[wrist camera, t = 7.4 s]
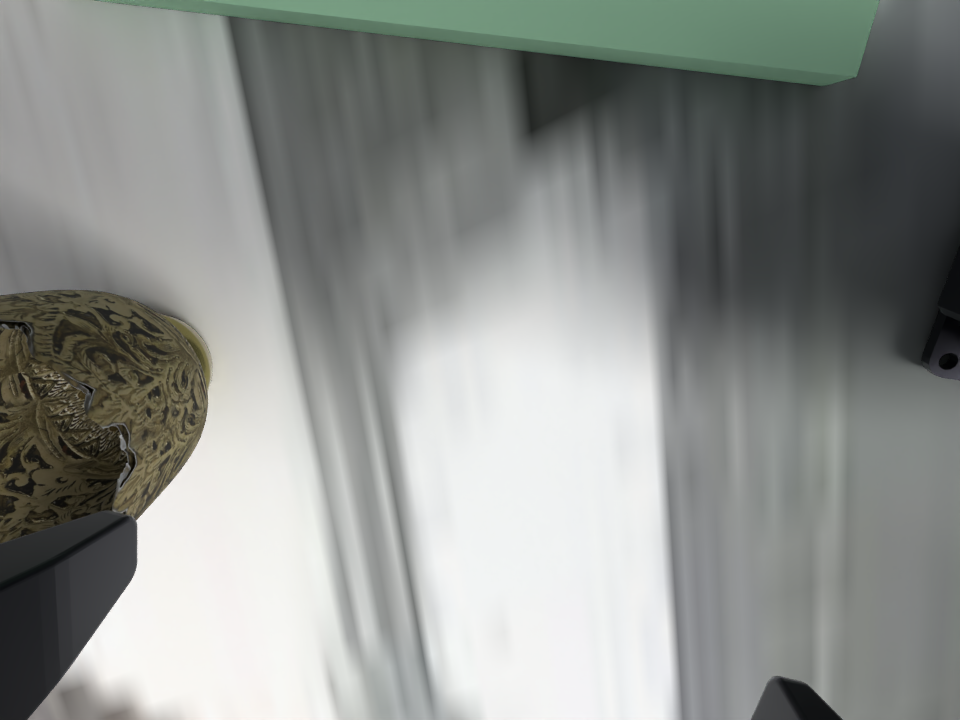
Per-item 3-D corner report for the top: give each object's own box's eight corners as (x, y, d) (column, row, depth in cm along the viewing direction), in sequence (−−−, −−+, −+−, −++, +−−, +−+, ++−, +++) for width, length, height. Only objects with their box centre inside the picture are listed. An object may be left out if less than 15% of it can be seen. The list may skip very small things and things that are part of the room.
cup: (50, 257, 21) (-237, 312, 14) (250, 246, 20) (58, 299, 12) (105, 453, 23) (-115, 594, 16) (287, 453, 22) (144, 604, 15)
